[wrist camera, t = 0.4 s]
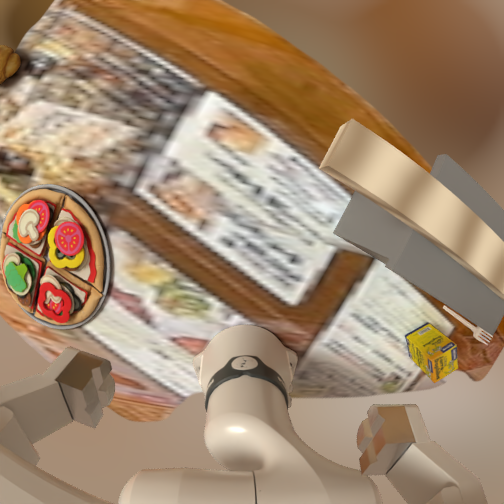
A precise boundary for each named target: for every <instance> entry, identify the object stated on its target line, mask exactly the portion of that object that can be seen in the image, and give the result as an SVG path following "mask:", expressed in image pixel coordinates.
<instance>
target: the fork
mask: <svg viewBox="0 0 504 504" xmlns="http://www.w3.org/2000/svg"><path fill="white" fill-rule="evenodd" d="M443 309H444V310H446V311H447V312H449V313H450V314H451V315H453V316H454V317H455V318H456V319H458V320H459V321H460V322H462V323H463V324H464V325H466V326H467V327H468V328H469V329H471V330H472V331H473V332H474V333H473V336H474V337H475V338H476V339H477V340H479V341H480V342H482V343H484V344H486V345H488V344H487V343H486V342H484V341H483V340H482V339H481V338H479V337H478V335H479V336H480V337H482V338H483V339H485V340H486V341H488V342H490V341H489V340H487V339H486V338H485V337H483V336H482V335H480V333H481V334H483V335H484V336H486V337H487V338H489V339H490V340H491V338H490V337H488V336H487V335H486V334H484V333H483V332H481V330H482V331H484V330H483V329H482V328H480V327H479V326H478V327H475V326H473V325H472V324H471V323H469V322H468V321H466V320H465V319H463V318H462V317H460V316H459V315H457V314H456V313H455V312H453V311H452V310H450V309H449V308H447V307H446V306H444V307H443ZM484 332H485V333H487V334H488V335H490V336H491V337H493V336H492V335H491V334H489V333H488V332H486V331H484Z"/></svg>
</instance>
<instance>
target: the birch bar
mask: <svg viewBox="0 0 504 504" xmlns="http://www.w3.org/2000/svg"><path fill="white" fill-rule="evenodd" d="M319 169H321V170H322V171H324V172H326V173H327V174H329V175H331V176H332V177H334V178H336V179H337V180H339V181H341V182H342V183H344V184H346V185H347V186H349V187H350V188H352V189H354V190H355V191H357V192H358V193H360V194H361V195H363V196H365V197H366V198H368V199H369V200H371V201H372V202H374V203H375V204H377V205H378V206H380V207H382V208H383V209H385V210H386V211H388V212H389V213H390V214H392V215H393V216H395V217H396V218H398V219H399V220H401V221H402V222H404V223H405V224H406V225H408V226H409V227H411V228H412V229H414V230H415V231H416V232H418V233H419V234H421V235H422V236H423V237H425V238H426V239H427V240H429V241H430V242H432V243H433V244H434V245H436V246H437V247H438V248H440V249H441V250H442V251H444V252H445V253H446V254H447V255H449V256H450V257H451V258H453V259H454V260H455V261H456V262H458V263H459V264H460V265H462V266H463V267H464V268H465V269H467V270H468V271H469V272H470V273H472V274H473V275H474V276H475V277H476V278H478V279H479V280H480V281H481V282H482V283H484V284H485V285H486V286H487V287H488V288H490V289H491V290H492V291H493V292H494V293H495V294H496V295H498V296H499V297H500V298H501V299H502V300H504V242H503V241H502V240H501V238H500V237H499V236H498V235H497V234H496V233H495V232H494V231H493V230H492V229H491V228H490V227H489V226H488V225H487V224H486V223H485V222H484V221H483V220H481V219H480V218H479V217H478V216H477V215H476V214H475V213H474V212H473V211H472V210H471V209H470V208H469V207H468V206H467V205H465V204H464V203H463V202H462V201H461V200H460V199H459V198H458V197H456V196H455V195H454V194H453V193H452V192H451V191H450V190H448V189H447V188H446V187H445V186H444V185H443V184H441V183H440V182H439V181H438V180H436V179H435V178H434V177H433V176H432V175H430V174H429V173H428V172H427V171H425V170H424V169H423V168H422V167H420V166H419V165H418V164H416V163H415V162H414V161H412V160H411V159H410V158H408V157H407V156H406V155H404V154H403V153H402V152H400V151H399V150H398V149H396V148H395V147H393V146H392V145H391V144H389V143H388V142H386V141H385V140H384V139H382V138H381V137H379V136H378V135H376V134H375V133H373V132H372V131H370V130H369V129H367V128H366V127H364V126H363V125H361V124H360V123H358V122H357V121H355V120H353V119H351V120H350V121H348V122H347V123H345V124H343V125H342V126H341V127H340V129H339V131H338V133H337V135H336V137H335V139H334V140H333V142H332V144H331V146H330V148H329V150H328V152H327V154H326V156H325V158H324V160H323V162H322V163H321V165H320V167H319Z"/></svg>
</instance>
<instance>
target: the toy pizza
mask: <svg viewBox="0 0 504 504" xmlns="http://www.w3.org/2000/svg"><path fill="white" fill-rule="evenodd" d="M71 197H73V198H71ZM77 200H78V201H79V202H80V203H81V204H82V205H83V206H84V207H83V206H82V205H81V204H79V203H78V202H77ZM85 208H86V209H87V210H88V212H89V213H90V214H91V215H90V214H89V213H88V212H87V210H86V209H85ZM103 245H104V246H103ZM0 265H1V269H2V274H3V278H4V281H5V284H6V286H7V289H8V291H9V292H10V293H11V295H12V297H13V299H14V300H15V301H16V302H17V304H18V305H19V306H20V307H21V309H22V310H23V311H24V312H25V313H26V314H28V315H29V316H30V317H31V318H32V319H34V320H35V321H37V322H39V323H41V324H42V325H45V326H47V327H51V328H55V329H71V328H75V327H78V326H80V325H82V324H84V323H86V322H87V321H88V320H90V319H91V318H92V317H93V316H94V315H95V314H96V312H97V311H98V310H99V308H100V307H101V305H102V303H103V301H104V299H105V296H106V293H107V290H108V286H109V280H110V255H109V248H108V244H107V240H106V237H105V234H104V231H103V228H102V226H101V224H100V222H99V220H98V218H97V216H96V215H95V213H94V212H93V210H92V209H91V208H90V206H89V205H88V204H87V203H86V202H85V201H84V200H83V199H82V198H81V197H80V196H78V195H77V194H76V193H74V192H73V191H71V190H69V189H67V188H65V187H62V186H58V185H52V184H45V185H38V186H35V187H32V188H30V189H28V190H26V191H25V192H23V193H22V194H21V195H20V196H19V197H18V198H17V199H16V200H15V201H14V202H13V203H12V205H11V206H10V208H9V210H8V211H7V213H6V216H5V218H4V221H3V224H2V227H1V232H0Z"/></svg>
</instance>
